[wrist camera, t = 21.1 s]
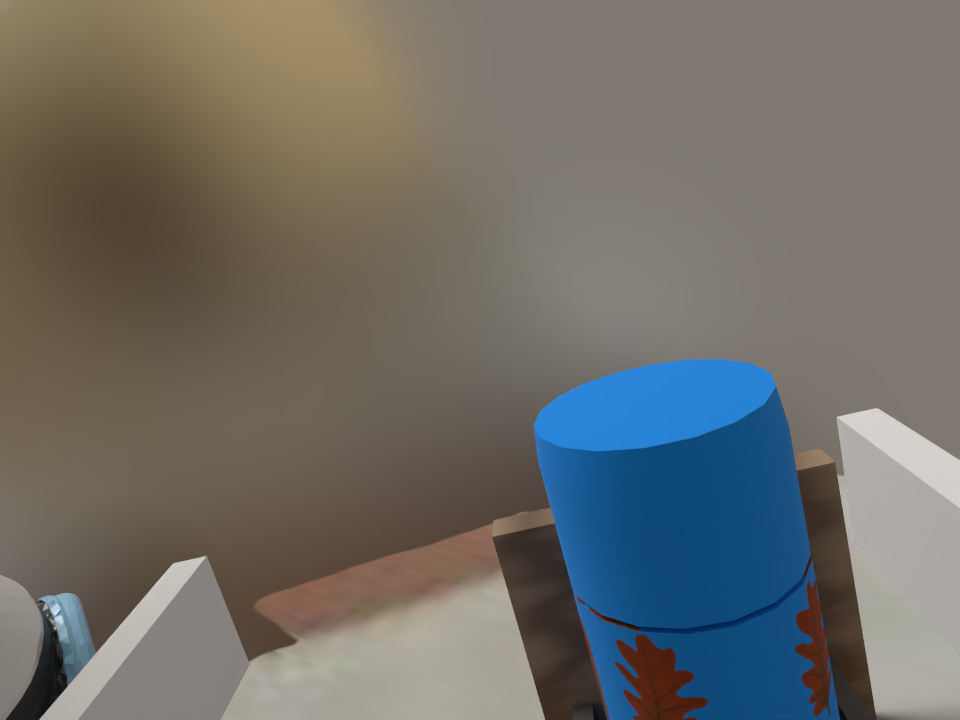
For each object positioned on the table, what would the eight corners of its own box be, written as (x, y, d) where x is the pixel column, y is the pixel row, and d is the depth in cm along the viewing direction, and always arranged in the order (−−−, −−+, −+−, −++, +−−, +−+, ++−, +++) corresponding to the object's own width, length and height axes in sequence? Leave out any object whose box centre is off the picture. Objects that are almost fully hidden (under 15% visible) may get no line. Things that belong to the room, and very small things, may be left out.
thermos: (844, 1001, 29) (738, 455, 23) (611, 898, 36) (484, 452, 30) (877, 791, 37) (804, 349, 32) (683, 739, 44) (594, 365, 38)
